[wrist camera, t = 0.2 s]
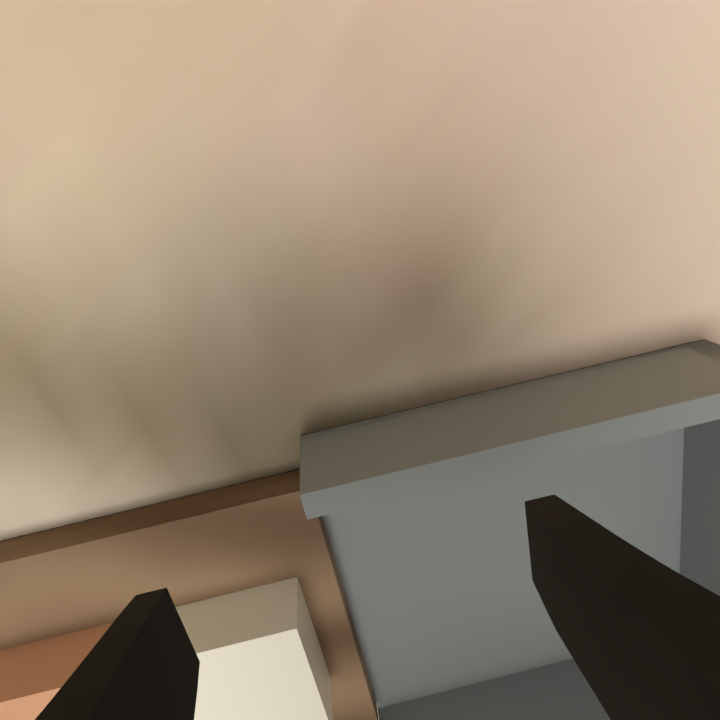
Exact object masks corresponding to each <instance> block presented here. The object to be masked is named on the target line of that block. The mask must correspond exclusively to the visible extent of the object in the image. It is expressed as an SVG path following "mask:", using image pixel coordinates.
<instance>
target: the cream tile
mask: <svg viewBox="0 0 720 720" xmlns="http://www.w3.org/2000/svg"><path fill="white" fill-rule="evenodd" d="M176 610H177V612H178V614H179V616H180V618H181V621H182V623H183V625H184V627H185V630H186V632H187V634H188V636H189V639H190V641H191V643H192V645H193V648H194V650H195V652H196V654H197V657H198V659H199V661H200V666H199V677H198V688H197V698H196V707H195V715H194V720H333V716H332V698H331V679H330V675H329V672H328V668H327V665H326V662H325V659H324V656H323V653H322V650H321V647H320V644H319V641H318V638H317V635H316V632H315V629H314V626H313V623H312V620H311V617H310V614H309V611H308V608H307V604H306V601H305V598H304V595H303V592H302V589H301V586H300V583H299V580H298V577H295V578H291V579H287V580H283V581H279V582H275V583H271V584H267V585H263V586H259V587H255V588H251V589H247V590H243V591H239V592H235V593H231V594H227V595H223V596H219V597H215V598H211V599H206V600H202V601H198V602H194V603H190V604H186V605H182V606H178V607H176Z"/></svg>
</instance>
